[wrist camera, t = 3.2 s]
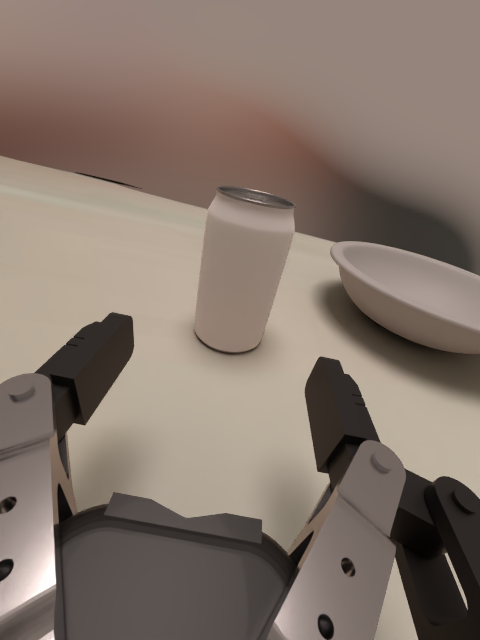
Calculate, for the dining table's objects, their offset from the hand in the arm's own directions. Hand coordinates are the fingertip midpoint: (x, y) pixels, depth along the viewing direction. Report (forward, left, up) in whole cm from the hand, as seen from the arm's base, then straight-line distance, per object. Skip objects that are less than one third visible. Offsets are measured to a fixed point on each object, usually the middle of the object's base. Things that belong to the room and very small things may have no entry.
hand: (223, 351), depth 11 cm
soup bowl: (+22, +21, -7) cm, 31 cm away
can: (0, +11, -7) cm, 13 cm away
